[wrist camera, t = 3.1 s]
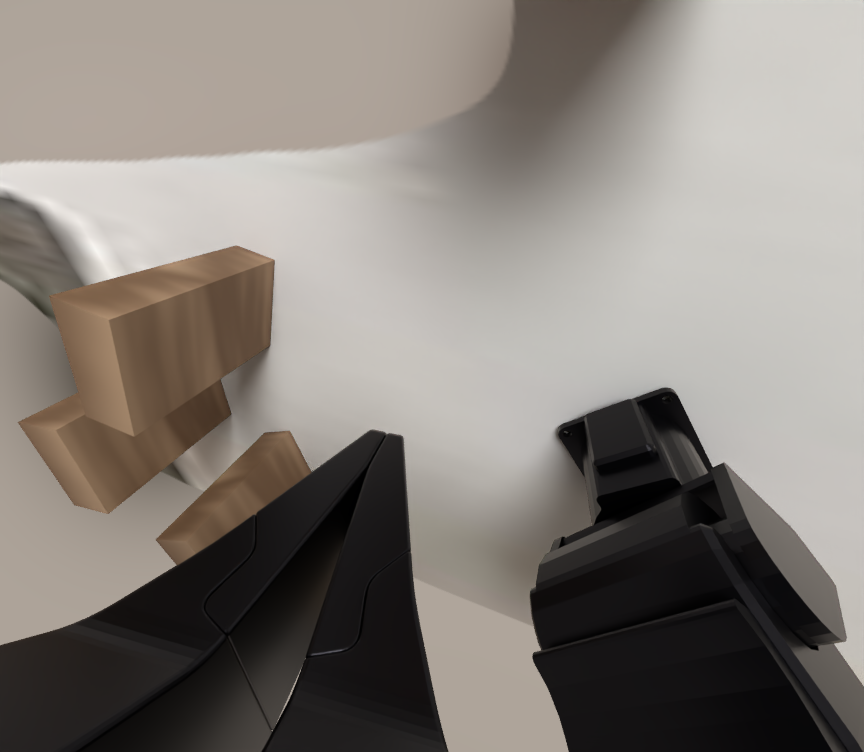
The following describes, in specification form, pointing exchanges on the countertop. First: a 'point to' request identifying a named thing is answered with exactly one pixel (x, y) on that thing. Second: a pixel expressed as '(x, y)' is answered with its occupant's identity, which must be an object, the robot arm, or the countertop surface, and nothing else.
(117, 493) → the light brown wooden block
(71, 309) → the wooden block
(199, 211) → the countertop surface
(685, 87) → the countertop surface
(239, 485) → the tile two
